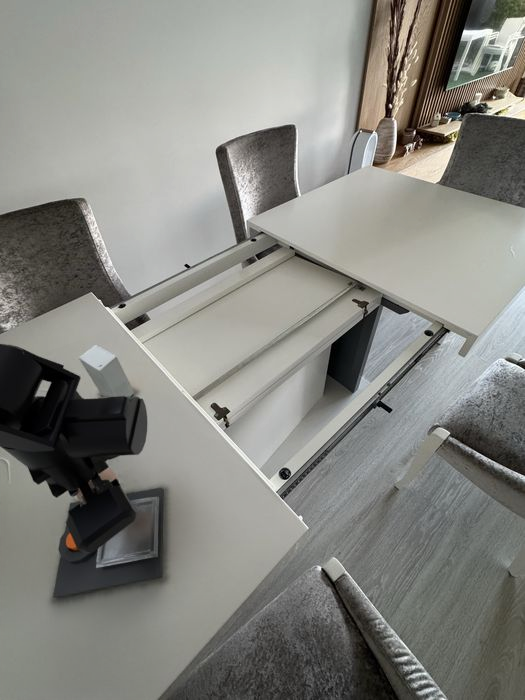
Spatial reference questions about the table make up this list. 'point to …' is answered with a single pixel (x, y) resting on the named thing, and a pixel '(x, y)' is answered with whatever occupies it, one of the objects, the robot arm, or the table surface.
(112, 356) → the cosmetic box
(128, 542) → the brushed steel platform
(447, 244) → the table surface
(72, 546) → the button
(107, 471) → the egg
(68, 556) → the scale
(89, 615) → the table surface
